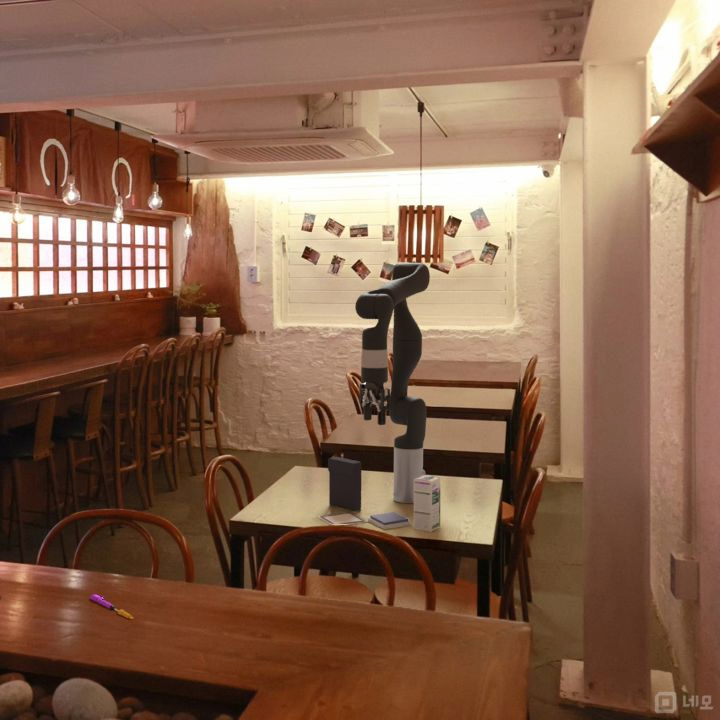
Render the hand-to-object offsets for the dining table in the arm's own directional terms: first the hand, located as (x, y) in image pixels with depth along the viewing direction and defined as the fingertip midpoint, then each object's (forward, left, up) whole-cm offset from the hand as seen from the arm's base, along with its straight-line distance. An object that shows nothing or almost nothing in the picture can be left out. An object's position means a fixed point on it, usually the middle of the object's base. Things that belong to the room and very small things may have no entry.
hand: (374, 422), depth 222 cm
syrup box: (-12, +10, -30) cm, 33 cm away
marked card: (+6, -8, -30) cm, 31 cm away
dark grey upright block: (-1, -19, -30) cm, 35 cm away
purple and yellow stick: (+77, +27, -30) cm, 87 cm away
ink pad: (-5, +1, -30) cm, 30 cm away
